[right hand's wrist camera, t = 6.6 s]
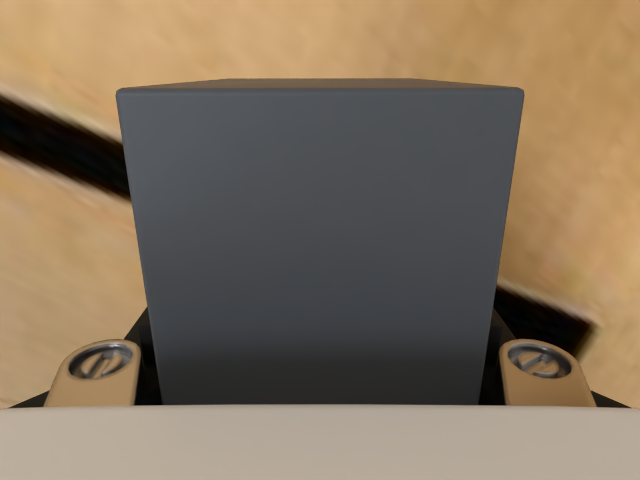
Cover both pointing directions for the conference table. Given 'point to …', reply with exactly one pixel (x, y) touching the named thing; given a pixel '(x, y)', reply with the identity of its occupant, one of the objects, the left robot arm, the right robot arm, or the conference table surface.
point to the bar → (320, 235)
